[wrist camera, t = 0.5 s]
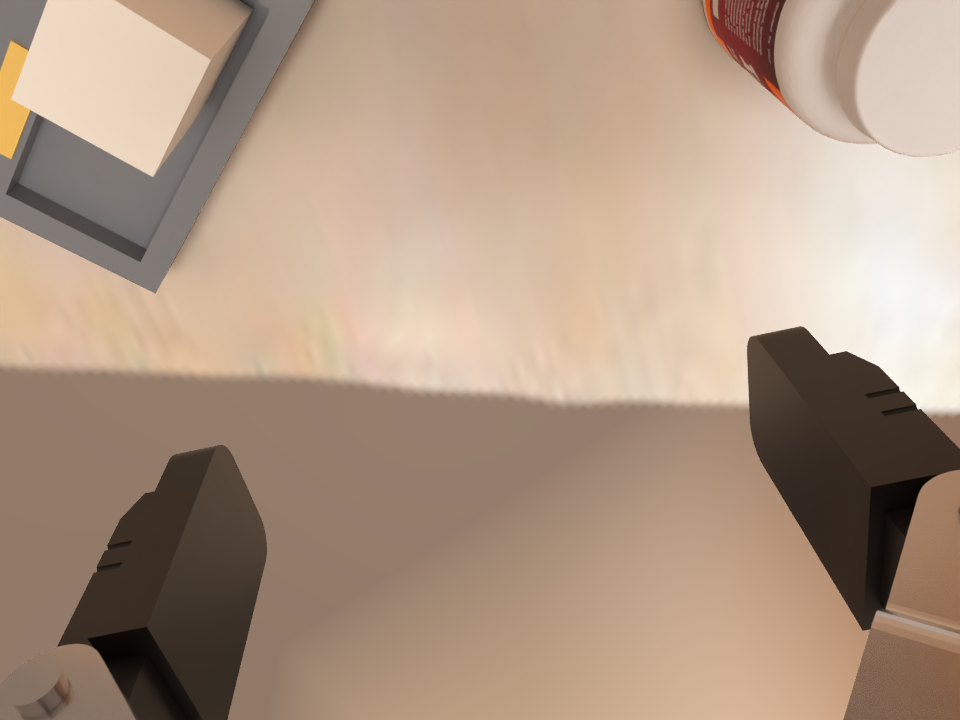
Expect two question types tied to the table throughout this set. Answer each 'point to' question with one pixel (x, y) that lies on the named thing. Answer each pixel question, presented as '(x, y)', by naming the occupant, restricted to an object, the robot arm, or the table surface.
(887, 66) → the pill bottle
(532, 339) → the table surface
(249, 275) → the table surface
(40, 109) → the tab
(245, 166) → the table surface
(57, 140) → the switch board
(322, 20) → the table surface
